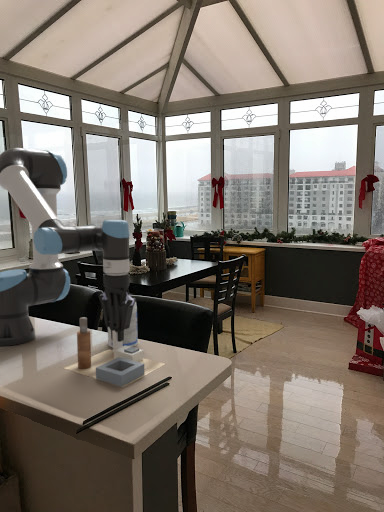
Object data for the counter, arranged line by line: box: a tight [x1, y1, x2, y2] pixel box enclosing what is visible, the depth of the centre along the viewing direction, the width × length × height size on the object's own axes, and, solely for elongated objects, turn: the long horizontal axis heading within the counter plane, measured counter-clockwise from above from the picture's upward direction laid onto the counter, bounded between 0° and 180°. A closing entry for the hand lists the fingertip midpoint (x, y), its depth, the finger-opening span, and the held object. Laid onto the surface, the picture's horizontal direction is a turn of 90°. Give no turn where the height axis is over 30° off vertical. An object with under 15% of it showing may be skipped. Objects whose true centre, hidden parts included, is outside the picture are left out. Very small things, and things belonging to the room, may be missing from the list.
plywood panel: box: [63, 348, 166, 388], centre depth 116 cm, size 22×18×1 cm
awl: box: [76, 316, 92, 369], centre depth 115 cm, size 4×4×14 cm
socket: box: [95, 357, 144, 388], centre depth 109 cm, size 9×9×3 cm
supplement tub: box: [107, 301, 139, 348], centre depth 134 cm, size 10×10×15 cm
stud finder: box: [114, 345, 144, 362], centre depth 121 cm, size 7×5×4 cm
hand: (117, 350), depth 123 cm, fingers closed
